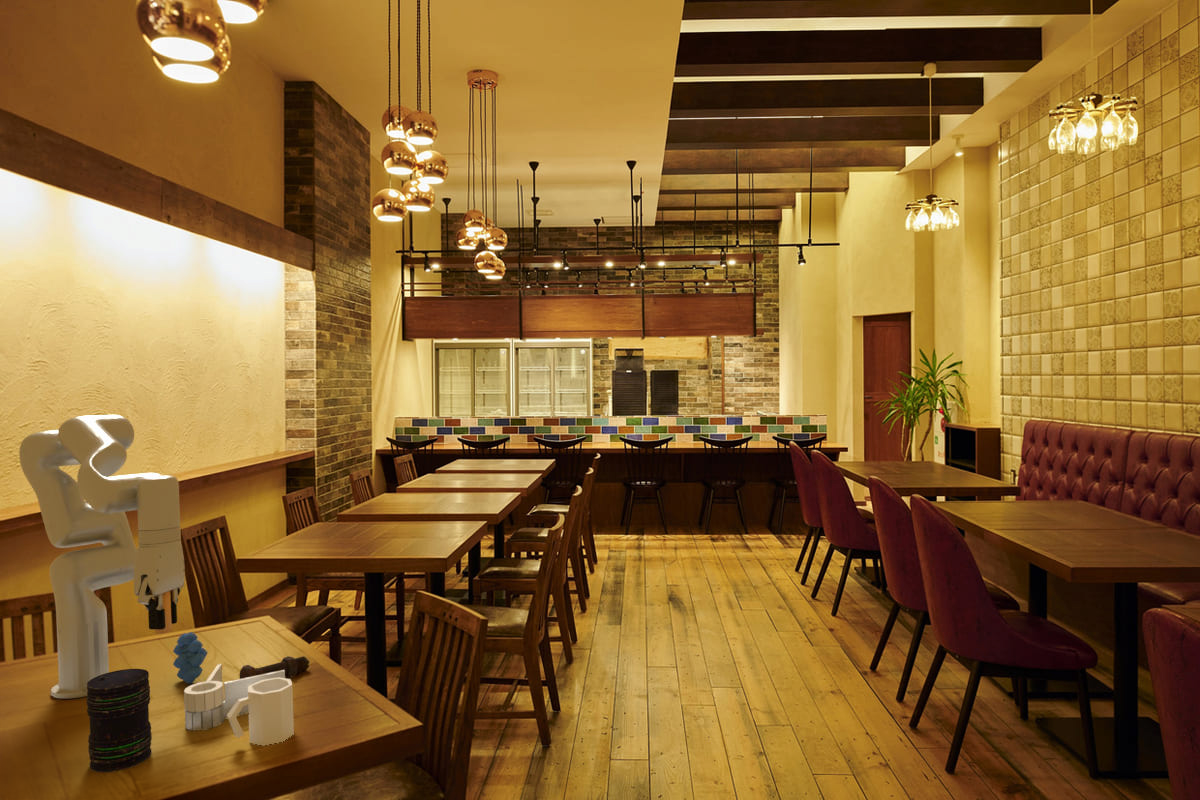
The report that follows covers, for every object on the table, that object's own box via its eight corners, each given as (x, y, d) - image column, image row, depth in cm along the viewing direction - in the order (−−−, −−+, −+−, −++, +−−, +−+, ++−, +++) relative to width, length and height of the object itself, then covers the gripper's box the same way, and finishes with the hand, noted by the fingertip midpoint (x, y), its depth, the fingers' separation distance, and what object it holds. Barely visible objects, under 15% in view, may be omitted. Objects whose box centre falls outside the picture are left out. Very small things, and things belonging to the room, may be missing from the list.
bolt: (308, 679, 187) (246, 696, 175) (298, 664, 190) (236, 681, 178) (314, 660, 185) (252, 677, 174) (305, 646, 188) (243, 661, 176)
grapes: (220, 682, 180) (218, 631, 180) (190, 692, 175) (188, 638, 175) (197, 672, 187) (195, 622, 187) (167, 681, 182) (165, 629, 182)
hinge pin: (153, 631, 160) (151, 587, 160) (169, 628, 162) (167, 584, 162) (157, 634, 158) (155, 590, 158) (173, 631, 160) (171, 587, 160)
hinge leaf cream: (219, 726, 156) (218, 691, 155) (181, 731, 154) (180, 695, 154) (237, 694, 172) (236, 662, 172) (203, 697, 171) (202, 665, 171)
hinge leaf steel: (183, 721, 159) (182, 686, 159) (281, 699, 170) (280, 665, 169) (187, 733, 153) (186, 696, 153) (289, 709, 164) (288, 675, 164)
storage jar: (162, 746, 148) (160, 667, 148) (133, 771, 139) (130, 687, 138) (109, 748, 148) (106, 669, 148) (76, 773, 138) (73, 689, 138)
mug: (283, 722, 157) (281, 674, 157) (302, 735, 151) (301, 684, 151) (220, 743, 149) (219, 692, 149) (239, 757, 143) (237, 704, 143)
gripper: (168, 529, 168) (171, 614, 169) (113, 544, 152) (117, 639, 152) (201, 529, 168) (204, 614, 168) (150, 544, 151) (153, 639, 152)
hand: (163, 625), depth 160 cm, fingers closed on hinge pin, 3 cm apart
